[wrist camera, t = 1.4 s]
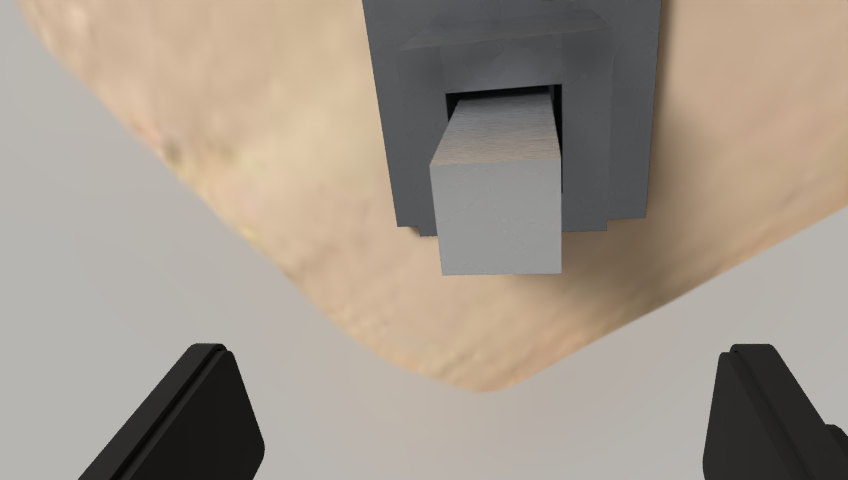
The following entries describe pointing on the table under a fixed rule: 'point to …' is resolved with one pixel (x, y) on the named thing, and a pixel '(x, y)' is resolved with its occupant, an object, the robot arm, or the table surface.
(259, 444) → the robot arm
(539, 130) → the bar
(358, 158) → the table surface
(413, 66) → the jack base
